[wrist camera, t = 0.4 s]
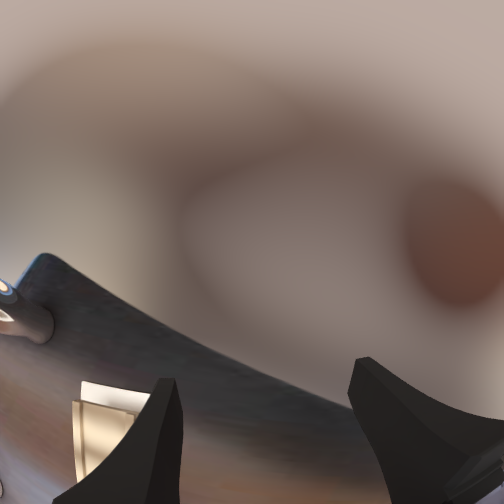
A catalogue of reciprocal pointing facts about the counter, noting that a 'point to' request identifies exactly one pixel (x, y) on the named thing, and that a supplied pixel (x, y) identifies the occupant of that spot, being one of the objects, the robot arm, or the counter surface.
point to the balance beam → (97, 433)
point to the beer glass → (23, 316)
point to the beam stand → (113, 397)
